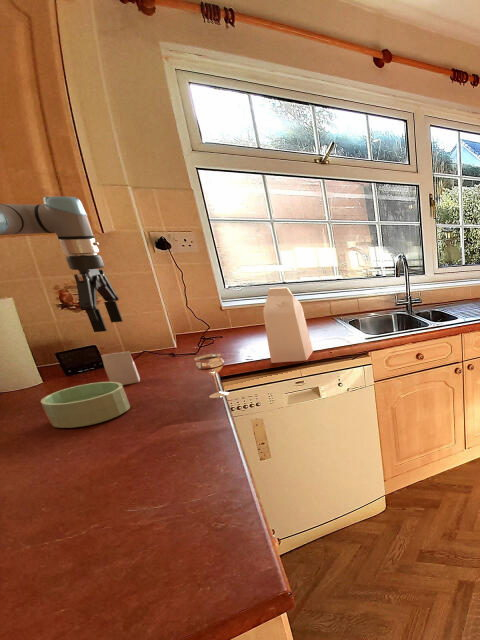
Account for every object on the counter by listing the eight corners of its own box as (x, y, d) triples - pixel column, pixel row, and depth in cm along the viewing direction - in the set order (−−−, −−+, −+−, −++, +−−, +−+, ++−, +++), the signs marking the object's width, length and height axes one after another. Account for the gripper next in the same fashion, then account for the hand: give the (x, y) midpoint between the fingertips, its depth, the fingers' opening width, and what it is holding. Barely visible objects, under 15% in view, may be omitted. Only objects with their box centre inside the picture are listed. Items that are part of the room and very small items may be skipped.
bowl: (34, 431, 106) (22, 406, 103) (86, 405, 120) (76, 382, 118) (100, 428, 107) (90, 403, 105) (144, 403, 122) (136, 380, 119)
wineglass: (234, 389, 131) (224, 352, 127) (228, 397, 125) (217, 359, 121) (209, 392, 129) (198, 354, 125) (202, 400, 123) (190, 361, 119)
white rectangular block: (139, 382, 137) (128, 352, 134) (111, 386, 134) (100, 356, 130) (140, 378, 140) (129, 350, 137) (113, 383, 137) (102, 353, 133)
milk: (313, 351, 167) (300, 285, 158) (306, 360, 157) (292, 289, 147) (280, 353, 165) (265, 286, 156) (271, 362, 155) (254, 291, 145)
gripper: (81, 257, 113) (109, 334, 121) (115, 251, 134) (137, 317, 142) (43, 258, 110) (75, 337, 118) (84, 252, 131) (108, 319, 139)
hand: (109, 326), depth 130 cm, fingers open, 13 cm apart
